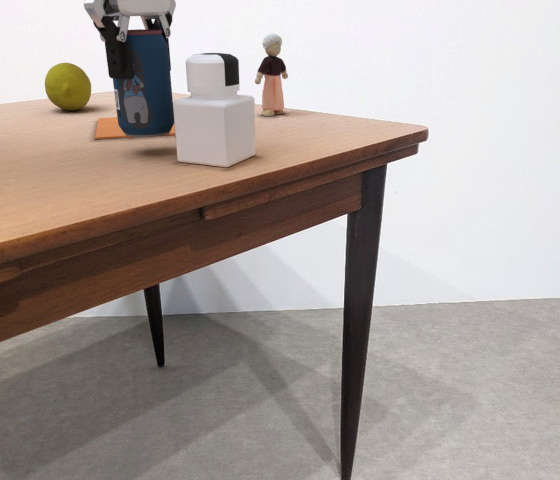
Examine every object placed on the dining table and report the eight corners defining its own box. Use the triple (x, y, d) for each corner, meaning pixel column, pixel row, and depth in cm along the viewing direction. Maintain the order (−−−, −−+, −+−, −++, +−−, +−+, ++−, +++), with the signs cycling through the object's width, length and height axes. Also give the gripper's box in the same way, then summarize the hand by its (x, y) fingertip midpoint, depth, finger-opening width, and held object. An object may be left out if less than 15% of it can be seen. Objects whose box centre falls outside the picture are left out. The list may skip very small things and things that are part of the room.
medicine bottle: (208, 150, 78) (202, 50, 73) (256, 155, 75) (254, 52, 70) (176, 162, 72) (167, 55, 67) (227, 168, 69) (222, 57, 64)
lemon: (92, 113, 104) (85, 64, 101) (44, 115, 103) (36, 66, 99) (96, 104, 114) (90, 59, 110) (53, 106, 112) (46, 60, 109)
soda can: (166, 126, 80) (157, 28, 75) (182, 135, 75) (173, 30, 70) (114, 131, 78) (101, 30, 73) (126, 141, 72) (113, 32, 67)
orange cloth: (95, 139, 85) (94, 137, 85) (98, 119, 99) (98, 118, 99) (249, 131, 89) (249, 129, 89) (231, 113, 103) (231, 111, 103)
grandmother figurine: (272, 117, 99) (271, 34, 94) (252, 116, 101) (250, 34, 95) (294, 111, 105) (294, 32, 100) (275, 109, 107) (274, 32, 101)
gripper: (141, -86, 74) (156, 67, 82) (38, -106, 60) (67, 82, 67) (194, -90, 71) (204, 68, 79) (99, -112, 57) (122, 84, 65)
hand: (141, 73), depth 73 cm, fingers closed on soda can, 7 cm apart
